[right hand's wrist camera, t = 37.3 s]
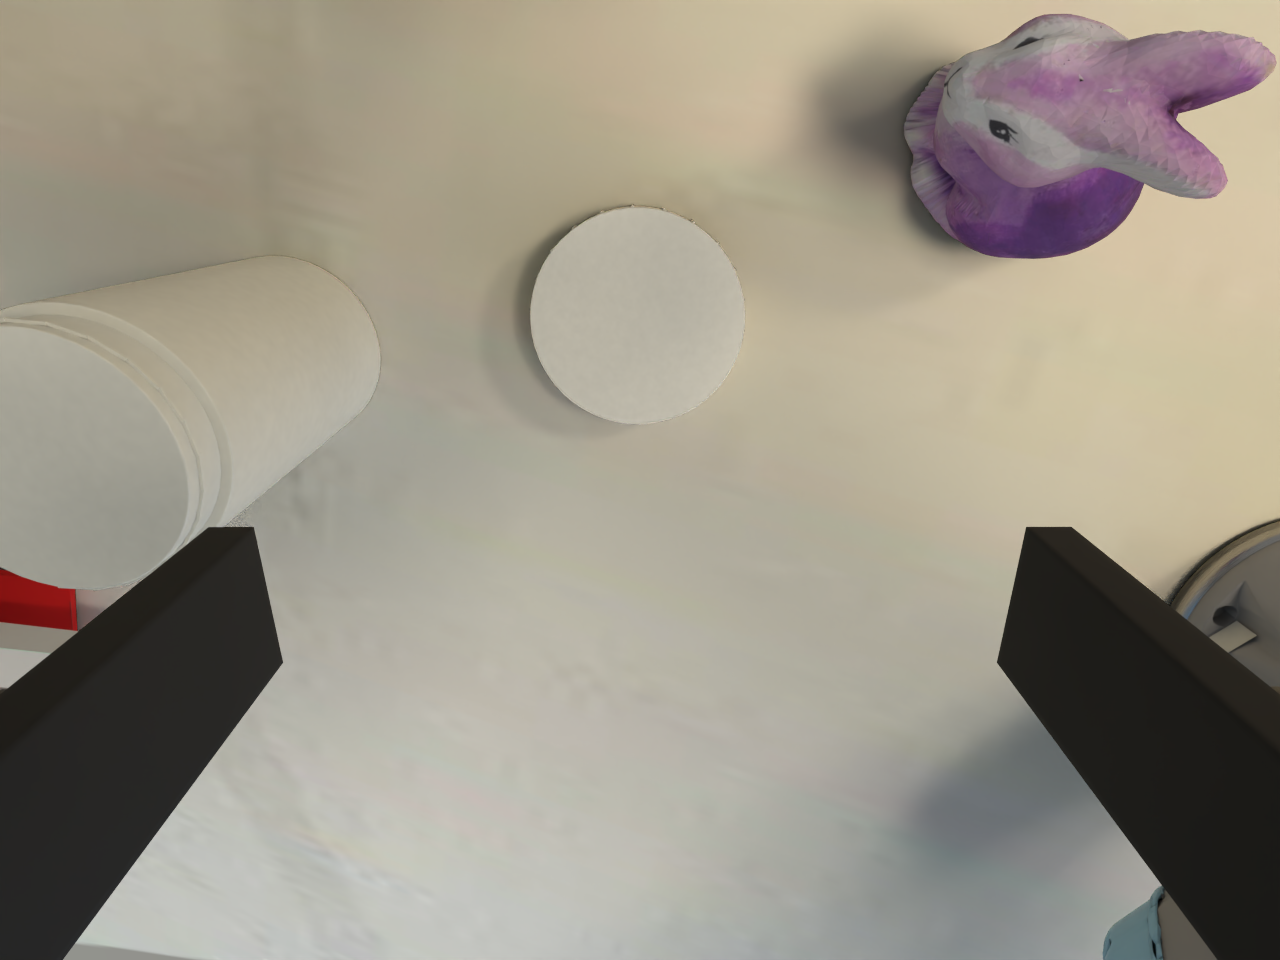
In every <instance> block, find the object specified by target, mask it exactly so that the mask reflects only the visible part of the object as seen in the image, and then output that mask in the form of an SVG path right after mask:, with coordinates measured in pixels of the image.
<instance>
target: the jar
mask: <svg viewBox="0 0 1280 960" xmlns="http://www.w3.org/2000/svg"><path fill="white" fill-rule="evenodd" d="M380 365H381V355H380V346H379V342H378V337H377V333H376V331H375V328H374V325H373V323H372V321H371V319H370V317H369V315H368V313H367V311H366V309H365V308H364V307H363V305H362V304H361V302H360V301H359V299H358V298H357V297H356V296H355V295H354V293H353V292H352V291H351V290H350V289H349V288H348V287H347V286H346V285H345V284H344V283H342V282H341V281H340V280H339V279H337V278H336V277H335V276H333V275H332V274H331V273H329V272H327V271H326V270H324V269H322V268H320V267H318V266H316V265H314V264H311V263H309V262H307V261H303V260H300V259H296V258H292V257H286V256H262V257H255V258H250V259H245V260H240V261H235V262H230V263H225V264H220V265H215V266H210V267H205V268H200V269H195V270H189V271H184V272H179V273H174V274H169V275H164V276H159V277H154V278H149V279H144V280H139V281H134V282H129V283H124V284H119V285H114V286H109V287H104V288H99V289H94V290H89V291H84V292H79V293H74V294H69V295H64V296H59V297H54V298H49V299H44V300H39V301H34V302H29V303H24V304H19V305H16V306H12V307H8V308H5V309H2V310H0V567H1V568H3V569H5V570H8V571H10V572H12V573H14V574H17V575H19V576H21V577H24V578H27V579H30V580H33V581H36V582H40V583H44V584H48V585H53V586H57V587H58V588H67V589H83V590H93V591H97V590H103V589H109V588H115V587H121V586H128V585H130V584H133V583H135V582H137V581H139V580H141V579H143V578H145V577H147V576H148V575H149V574H151V573H152V572H153V571H154V570H156V569H157V568H158V567H159V566H161V565H162V564H163V563H164V562H166V561H167V560H168V559H169V558H171V557H172V556H173V555H174V554H176V553H177V552H178V551H179V550H181V549H182V548H183V547H184V546H186V545H187V544H188V543H189V542H191V541H192V540H193V539H194V538H196V537H197V536H198V535H199V534H201V533H202V532H203V531H204V530H206V529H207V528H208V527H224V526H225V525H226V524H227V523H229V522H230V521H231V520H232V519H233V518H235V517H236V516H237V515H238V514H239V513H241V512H242V511H243V510H244V509H245V508H247V507H248V506H249V505H250V504H252V503H253V502H254V501H255V500H256V499H258V498H259V497H260V496H261V495H262V494H264V493H265V492H266V491H267V490H268V489H270V488H271V487H272V486H273V485H274V484H276V483H277V482H278V481H279V480H280V479H282V478H283V477H284V476H285V475H286V474H288V473H289V472H290V471H291V470H292V469H294V468H295V467H296V466H297V465H298V464H300V463H301V462H302V461H303V460H304V459H306V458H307V457H308V456H309V455H311V454H312V453H313V452H314V451H315V450H317V449H318V448H319V447H320V446H321V445H323V444H324V443H325V442H326V441H327V440H329V439H330V438H331V437H332V436H333V435H335V434H336V433H337V432H338V431H339V430H341V429H342V428H343V427H344V426H345V425H347V424H348V423H349V422H350V421H351V420H353V419H354V418H355V417H356V416H357V415H358V414H359V413H360V412H361V411H362V410H363V409H364V408H365V407H366V405H367V404H368V402H369V401H370V399H371V398H372V396H373V393H374V391H375V389H376V386H377V383H378V380H379V374H380Z"/></svg>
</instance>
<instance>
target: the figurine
mask: <svg viewBox="0 0 1280 960" xmlns="http://www.w3.org/2000/svg"><path fill="white" fill-rule="evenodd" d="M1275 65H1276V58H1275V55H1274V54H1272V53H1271V52H1270V51H1269V49H1268V48H1266V47H1265V46H1263V45H1262V43H1261V42H1257V41H1255V39H1254V38H1253V37H1250V38H1248V37H1245V36H1242V35H1238V34H1227V33H1224V32H1220V31H1218V32H1205V31H1202V30H1197V31H1192V32H1182V31H1175V32H1170V33H1167V34H1153V35H1148V36H1144V37H1140V38H1136V39H1132V40H1129V39H1128V38H1126V37H1125V36H1123V35H1122V34H1120V33H1119V32H1117V31H1116V30H1114V29H1112V28H1111V27H1109V26H1107V25H1105V24H1103V23H1101V22H1098V21H1094V20H1091V19H1088V18H1085V17H1081V16H1077V15H1072V14H1048V15H1042V16H1039V17H1036V18H1034V19H1032V20H1030V21H1028V22H1027V23H1025V24H1023V25H1022V26H1021V27H1019V28H1018V29H1017V30H1015V31H1014V32H1013V33H1012V34H1010V35H1009V36H1008V37H1007V38H1006V39H1004V40H1003V41H1001V42H1000V43H997V44H995V45H992V46H989V47H986V48H984V49H980V50H977V51H974V52H971V53H968V54H966V55H965V56H963V57H962V58H960V59H959V60H958V61H956V62H953V63H951V64H949V65H945V66H943V67H942V68H941V70H940V71H937V72H936V73H935V74H934V75H933V77H932V79H931V80H930V81H929V84H928V86H926V87H925V90H924V91H923V92H921V96H919V97H918V98H917V101H916V102H914V105H913V107H911V108H910V112H909V113H908V115H907V116H906V121H905V124H904V137H905V139H906V141H907V143H908V146H909V148H910V150H911V152H912V154H913V163H912V166H911V172H910V174H911V181H912V187H913V188H914V190H915V192H916V194H917V195H918V197H919V198H920V200H921V201H922V202H923V204H924V206H925V207H926V208H927V209H928V211H929V212H930V213H931V215H932V216H933V218H934V219H935V220H936V222H938V223H939V224H940V225H941V227H942V228H943V229H944V230H945V231H946V232H947V233H948V234H949V235H950V236H952V237H953V238H954V239H957V240H958V241H960V242H961V243H963V244H964V245H966V246H967V247H969V248H971V249H973V250H976V251H978V252H980V253H983V254H986V255H990V256H995V257H1004V258H1029V259H1037V258H1049V257H1056V256H1062V255H1067V254H1070V253H1073V252H1076V251H1079V250H1082V249H1085V248H1087V247H1089V246H1091V245H1093V244H1095V243H1096V242H1098V241H1100V240H1101V239H1103V238H1105V237H1106V236H1108V235H1109V234H1110V233H1112V232H1113V231H1114V230H1115V229H1116V228H1117V227H1118V226H1119V225H1120V224H1121V223H1122V222H1123V221H1124V220H1125V219H1126V217H1127V216H1128V215H1129V213H1130V212H1131V210H1132V209H1133V207H1134V205H1135V203H1136V202H1137V200H1138V198H1139V196H1140V193H1141V190H1142V188H1143V185H1144V183H1145V184H1147V185H1149V186H1150V187H1152V188H1154V189H1157V190H1160V191H1163V192H1167V193H1170V194H1173V195H1176V196H1179V197H1187V198H1195V199H1200V198H1212V197H1215V196H1217V195H1218V194H1219V193H1220V192H1221V191H1222V190H1223V189H1224V188H1225V186H1226V184H1227V181H1228V180H1227V177H1226V174H1225V171H1224V168H1223V165H1222V164H1221V163H1220V161H1219V159H1218V158H1217V157H1216V156H1215V155H1214V154H1212V153H1211V152H1210V151H1209V150H1208V149H1207V148H1206V147H1205V146H1204V145H1203V143H1201V142H1200V141H1198V140H1197V139H1196V138H1195V137H1194V136H1193V135H1192V134H1190V133H1189V132H1188V131H1186V130H1185V129H1184V128H1183V127H1182V126H1181V125H1180V124H1179V123H1178V122H1177V121H1176V118H1177V116H1178V113H1182V112H1186V111H1190V110H1194V109H1198V108H1201V107H1204V106H1207V105H1210V104H1212V103H1215V102H1218V101H1221V100H1224V99H1227V98H1229V97H1232V96H1235V95H1237V94H1240V93H1243V92H1245V91H1248V90H1250V89H1252V88H1253V87H1255V86H1256V85H1258V84H1259V83H1261V82H1262V81H1264V80H1265V79H1266V78H1267V77H1268V76H1269V75H1270V74H1271V73H1272V72H1273V71H1274V68H1275Z"/></svg>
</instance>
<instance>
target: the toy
mask: <svg viewBox="0 0 1280 960" xmlns="http://www.w3.org/2000/svg"><path fill="white" fill-rule="evenodd" d="M77 632H78V631H77V614H76V598H75V589H67V588H58V587H57V586H53V585H48V584H44V583H40V582H36V581H33V580H30V579H27V578H24V577H21V576H19V575H17V574H14V573H12V572H10V571H8V570H0V690H1V689H7V688H9V687H10V686H11V685H12V684H14V683H15V682H16V681H17V680H19V679H20V678H21V677H22V676H24V675H25V674H26V673H27V672H29V671H30V670H31V669H32V668H34V667H35V666H36V665H37V664H39V663H40V662H41V661H42V660H44V659H45V658H46V657H47V656H48V655H50V654H51V653H52V652H53V651H55V650H56V649H57V648H58V647H60V646H61V645H62V644H63V643H65V642H66V641H67V640H68V639H70V638H71V637H72V636H73V635H75V634H76V633H77Z"/></svg>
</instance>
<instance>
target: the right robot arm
mask: <svg viewBox="0 0 1280 960" xmlns="http://www.w3.org/2000/svg"><path fill="white" fill-rule="evenodd" d="M282 663H283V660H282V656H281V651H280V647H279V642H278V637H277V633H276V628H275V623H274V619H273V614H272V610H271V605H270V600H269V596H268V591H267V586H266V582H265V577H264V573H263V568H262V563H261V559H260V554H259V549H258V545H257V540H256V535H255V531H254V527H208V528H207V529H206V530H204V531H203V532H202V533H201V534H199V535H198V536H197V537H196V538H194V539H193V540H192V541H191V542H189V543H188V544H187V545H186V546H184V547H183V548H182V549H181V550H179V551H178V552H177V553H176V554H174V555H173V556H172V557H171V558H169V559H168V560H167V561H166V562H164V563H163V564H162V565H161V566H159V567H158V568H157V569H156V570H154V571H153V572H152V573H151V574H149V575H148V576H147V577H146V578H144V579H143V580H142V581H141V582H139V583H138V584H137V585H136V586H134V587H133V588H132V589H131V590H129V591H128V592H127V593H126V594H125V595H123V596H122V597H121V598H120V599H118V600H117V601H116V602H115V603H113V604H112V605H111V606H110V607H108V608H107V609H106V610H105V611H103V612H102V613H101V614H100V615H98V616H97V617H96V618H95V619H93V620H92V621H91V622H90V623H88V624H87V625H86V626H85V627H83V628H82V629H81V630H80V631H78V632H77V633H76V634H75V635H73V636H72V637H71V638H70V639H68V640H67V641H66V642H65V643H63V644H62V645H61V646H60V647H58V648H57V649H56V650H55V651H53V652H52V653H51V654H50V655H48V656H47V657H46V658H45V659H44V660H42V661H41V662H40V663H39V664H37V665H36V666H35V667H34V668H32V669H31V670H30V671H29V672H27V673H26V674H25V675H24V676H22V677H21V678H20V679H19V680H17V681H16V682H15V683H14V684H12V685H11V686H10V687H9V688H7V689H1V690H0V960H63V959H64V957H65V956H66V955H67V953H68V952H69V951H70V949H71V948H72V946H73V945H74V944H75V942H76V941H77V940H78V938H79V937H80V936H81V934H82V933H83V932H84V930H85V929H86V928H87V926H88V925H89V924H90V922H91V921H92V920H93V918H94V917H95V915H96V914H97V913H98V911H99V910H100V909H101V907H102V906H103V905H104V903H105V902H106V901H107V899H108V898H109V897H110V895H111V894H112V893H113V891H114V890H115V888H116V887H117V886H118V884H119V883H120V882H121V880H122V879H123V878H124V876H125V875H126V874H127V872H128V871H129V870H130V868H131V867H132V866H133V864H134V863H135V861H136V860H137V859H138V857H139V856H140V855H141V853H142V852H143V851H144V849H145V848H146V847H147V845H148V844H149V843H150V841H151V840H152V839H153V837H154V836H155V835H156V833H157V832H158V830H159V829H160V828H161V826H162V825H163V824H164V822H165V821H166V820H167V818H168V817H169V816H170V814H171V813H172V812H173V810H174V809H175V808H176V806H177V805H178V803H179V802H180V801H181V799H182V798H183V797H184V795H185V794H186V793H187V791H188V790H189V789H190V787H191V786H192V785H193V783H194V782H195V781H196V779H197V778H198V777H199V775H200V774H201V772H202V771H203V770H204V768H205V767H206V766H207V764H208V763H209V762H210V760H211V759H212V758H213V756H214V755H215V754H216V752H217V751H218V750H219V748H220V747H221V745H222V744H223V743H224V741H225V740H226V739H227V737H228V736H229V735H230V733H231V732H232V731H233V729H234V728H235V727H236V725H237V724H238V723H239V721H240V720H241V718H242V717H243V716H244V714H245V713H246V712H247V710H248V709H249V708H250V706H251V705H252V704H253V702H254V701H255V700H256V698H257V697H258V696H259V694H260V693H261V692H262V690H263V689H264V687H265V686H266V685H267V683H268V682H269V681H270V679H271V678H272V677H273V675H274V674H275V673H276V671H277V670H278V669H279V667H280V666H281V665H282ZM997 663H998V665H999V666H1000V667H1001V669H1002V670H1003V671H1004V673H1005V674H1006V675H1007V677H1008V678H1009V679H1010V681H1011V682H1012V683H1013V685H1014V686H1015V687H1016V689H1017V690H1018V692H1019V693H1020V694H1021V696H1022V697H1023V698H1024V700H1025V701H1026V702H1027V704H1028V705H1029V706H1030V708H1031V709H1032V710H1033V712H1034V713H1035V714H1036V716H1037V717H1038V718H1039V720H1040V721H1041V723H1042V724H1043V725H1044V727H1045V728H1046V729H1047V731H1048V732H1049V733H1050V735H1051V736H1052V737H1053V739H1054V740H1055V741H1056V743H1057V744H1058V745H1059V747H1060V748H1061V750H1062V751H1063V752H1064V754H1065V755H1066V756H1067V758H1068V759H1069V760H1070V762H1071V763H1072V764H1073V766H1074V767H1075V768H1076V770H1077V771H1078V772H1079V774H1080V775H1081V777H1082V778H1083V779H1084V781H1085V782H1086V783H1087V785H1088V786H1089V787H1090V789H1091V790H1092V791H1093V793H1094V794H1095V795H1096V797H1097V798H1098V799H1099V801H1100V802H1101V803H1102V805H1103V806H1104V808H1105V809H1106V810H1107V812H1108V813H1109V814H1110V816H1111V817H1112V818H1113V820H1114V821H1115V822H1116V824H1117V825H1118V826H1119V828H1120V829H1121V830H1122V832H1123V833H1124V835H1125V836H1126V837H1127V839H1128V840H1129V841H1130V843H1131V844H1132V845H1133V847H1134V848H1135V849H1136V851H1137V852H1138V853H1139V855H1140V856H1141V857H1142V859H1143V860H1144V861H1145V863H1146V864H1147V866H1148V867H1149V868H1150V870H1151V871H1152V872H1153V874H1154V875H1155V876H1156V878H1157V879H1158V880H1159V882H1160V883H1161V884H1162V886H1160V887H1158V888H1157V889H1156V890H1155V891H1154V893H1153V894H1152V896H1151V898H1150V900H1149V901H1147V902H1146V903H1144V904H1143V905H1141V906H1140V907H1138V908H1137V909H1135V910H1134V911H1133V912H1131V913H1130V914H1128V915H1127V916H1125V917H1124V918H1122V919H1121V920H1119V921H1118V922H1117V923H1115V924H1114V925H1113V926H1112V927H1111V929H1110V930H1109V931H1108V933H1107V935H1106V938H1105V941H1104V948H1103V960H1280V521H1278V522H1275V523H1272V524H1269V525H1266V526H1264V527H1261V528H1259V529H1256V530H1254V531H1252V532H1250V533H1248V534H1246V535H1244V536H1242V537H1240V538H1239V539H1237V540H1235V541H1234V542H1232V543H1230V544H1229V545H1227V546H1226V547H1224V548H1223V549H1221V550H1220V551H1219V552H1217V553H1216V554H1215V555H1214V556H1212V557H1211V558H1210V559H1208V560H1207V561H1206V562H1205V563H1204V564H1203V565H1202V566H1201V567H1200V568H1199V569H1198V570H1197V571H1196V572H1195V573H1194V574H1193V575H1192V576H1191V577H1190V578H1189V579H1188V581H1187V582H1186V583H1185V584H1184V586H1183V587H1182V588H1181V590H1180V591H1179V592H1178V594H1177V595H1176V597H1175V598H1174V600H1173V602H1172V604H1171V606H1169V605H1168V604H1167V603H1165V602H1164V601H1163V600H1162V599H1160V598H1159V597H1158V596H1157V595H1155V594H1154V593H1153V592H1152V591H1151V590H1149V589H1148V588H1147V587H1146V586H1144V585H1143V584H1142V583H1141V582H1139V581H1138V580H1137V579H1136V578H1134V577H1133V576H1132V575H1131V574H1129V573H1128V572H1127V571H1126V570H1124V569H1123V568H1122V567H1121V566H1119V565H1118V564H1117V563H1116V562H1114V561H1113V560H1112V559H1111V558H1109V557H1108V556H1107V555H1106V554H1104V553H1103V552H1102V551H1101V550H1099V549H1098V548H1097V547H1096V546H1094V545H1093V544H1092V543H1091V542H1089V541H1088V540H1087V539H1086V538H1084V537H1083V536H1082V535H1081V534H1079V533H1078V532H1077V531H1076V530H1074V529H1073V528H1072V527H1026V531H1025V535H1024V540H1023V545H1022V549H1021V554H1020V559H1019V563H1018V568H1017V573H1016V577H1015V582H1014V586H1013V591H1012V596H1011V600H1010V605H1009V610H1008V614H1007V619H1006V623H1005V628H1004V633H1003V637H1002V642H1001V647H1000V651H999V656H998V660H997Z"/></svg>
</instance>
